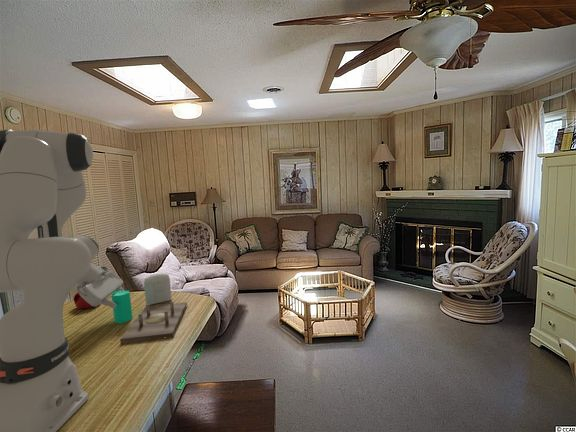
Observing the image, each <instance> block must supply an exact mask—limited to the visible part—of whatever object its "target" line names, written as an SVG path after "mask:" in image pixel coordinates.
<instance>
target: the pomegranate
mask: <svg viewBox="0 0 576 432" xmlns="http://www.w3.org/2000/svg"><path fill="white" fill-rule="evenodd" d="M72 300H73V303H74V305H75V307H76V308H77V309H80V310H82V309H90V308H93V307H95V306H91V305H90V304H89V303H88V302H86V301H85V300H84V299H83V298H82V297H81V296H80V293H79V292H78V291H77V292H76V294H74V296H73V299H72Z"/></svg>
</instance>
